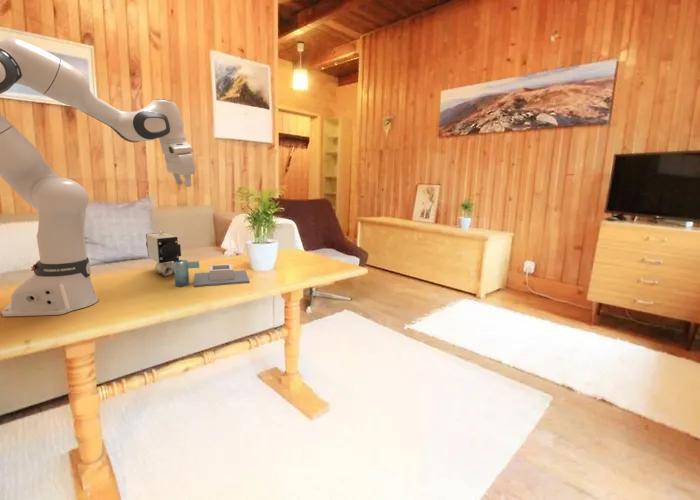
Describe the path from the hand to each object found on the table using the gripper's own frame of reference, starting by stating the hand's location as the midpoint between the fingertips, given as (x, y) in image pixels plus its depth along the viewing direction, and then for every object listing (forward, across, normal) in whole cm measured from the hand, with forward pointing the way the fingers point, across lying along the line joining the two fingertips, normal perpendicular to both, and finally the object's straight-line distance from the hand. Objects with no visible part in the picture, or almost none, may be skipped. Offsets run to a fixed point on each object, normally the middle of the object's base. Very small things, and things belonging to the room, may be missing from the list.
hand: (184, 185), depth 134 cm
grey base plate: (+37, +10, +2) cm, 38 cm away
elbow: (+35, +9, -10) cm, 37 cm away
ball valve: (+35, -10, -12) cm, 39 cm away
